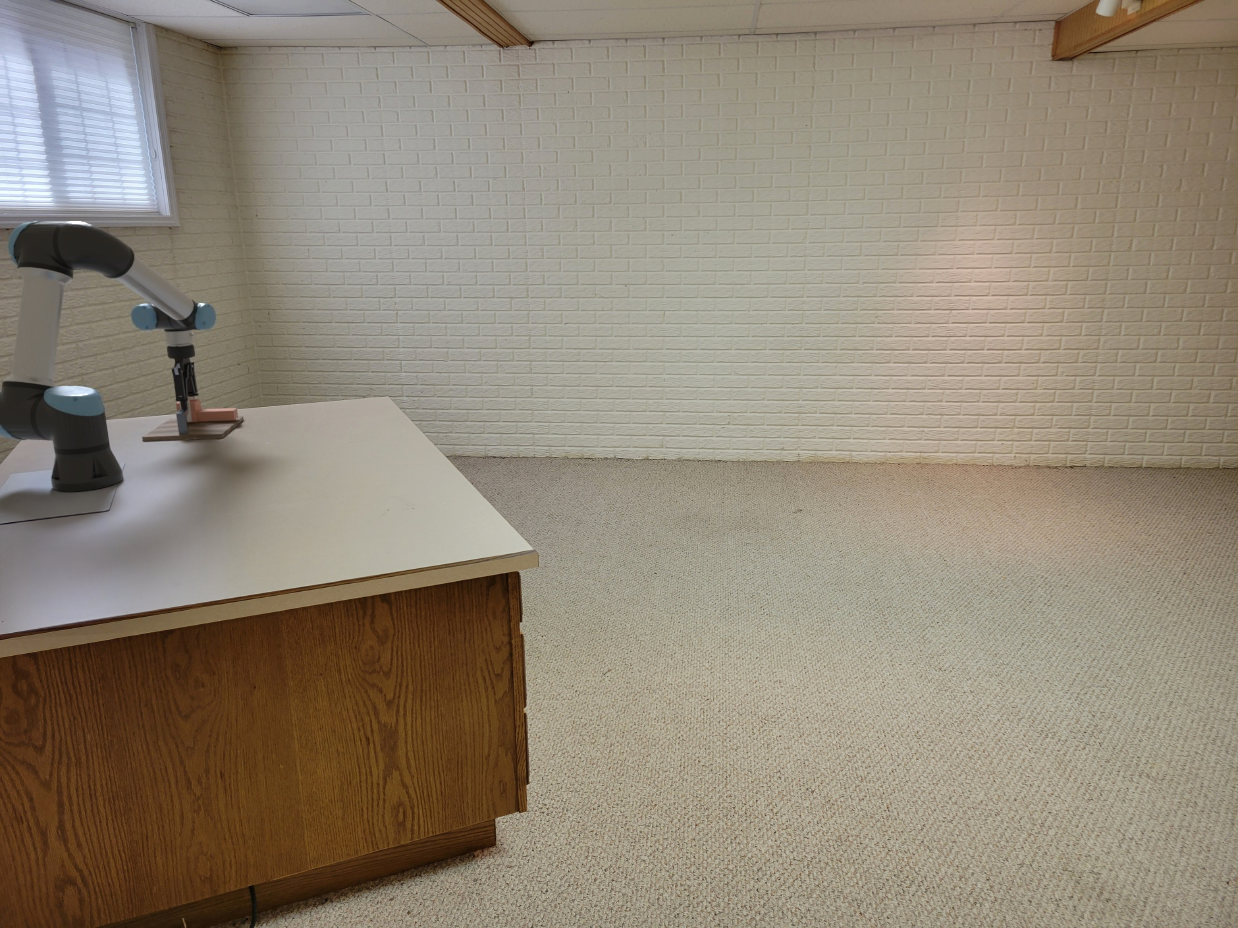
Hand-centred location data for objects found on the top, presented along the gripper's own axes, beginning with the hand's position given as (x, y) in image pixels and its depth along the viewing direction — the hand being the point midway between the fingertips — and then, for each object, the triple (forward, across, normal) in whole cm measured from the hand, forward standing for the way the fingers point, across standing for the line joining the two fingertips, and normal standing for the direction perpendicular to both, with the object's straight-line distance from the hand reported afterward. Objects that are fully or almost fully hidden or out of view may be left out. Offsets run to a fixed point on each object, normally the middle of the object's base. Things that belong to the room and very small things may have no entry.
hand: (190, 419), depth 276 cm
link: (0, 0, -5) cm, 6 cm away
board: (+2, -6, -3) cm, 7 cm away
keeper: (+2, -13, -2) cm, 14 cm away
